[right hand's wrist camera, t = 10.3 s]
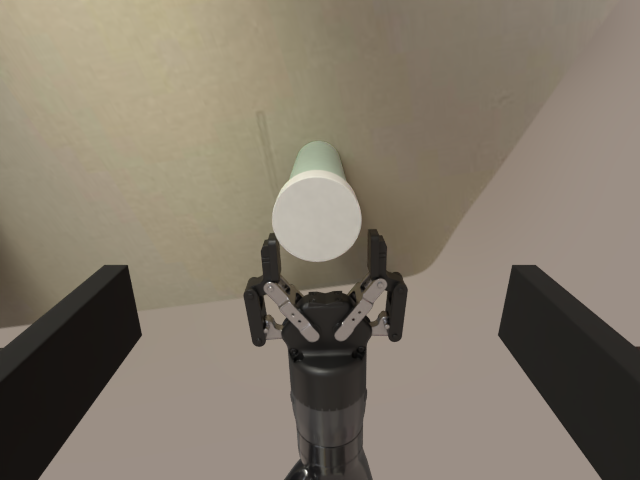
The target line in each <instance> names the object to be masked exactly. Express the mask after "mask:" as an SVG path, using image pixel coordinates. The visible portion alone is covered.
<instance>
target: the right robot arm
mask: <svg viewBox="0 0 640 480" xmlns="http://www.w3.org/2000/svg"><path fill="white" fill-rule="evenodd" d="M141 336H142V333H141V328H140V323H139V318H138V313H137V308H136V303H135V299H134V294H133V289H132V284H131V279H130V274H129V269H128V265H104V266H103V267H101V268H100V269H99V270H98V271H97V272H95V273H94V274H93V275H92V276H91V277H89V278H88V279H87V280H86V281H84V282H83V283H82V284H81V285H80V286H78V287H77V288H76V289H75V290H74V291H72V292H71V293H70V294H69V295H67V296H66V297H65V298H64V299H63V300H61V301H60V302H59V303H58V304H56V305H55V306H54V307H53V308H52V309H50V310H49V311H48V312H47V313H46V314H44V315H43V316H42V317H41V318H39V319H38V320H37V321H36V322H35V323H33V324H32V325H31V326H30V327H28V328H27V329H26V330H25V331H24V332H23V333H21V334H20V335H19V336H18V337H16V338H15V339H14V340H13V341H12V342H10V343H9V344H8V345H7V346H5V347H4V348H0V480H38V479H39V477H40V476H41V475H42V473H43V472H44V471H45V469H46V468H47V466H48V465H49V464H50V462H51V461H52V459H53V458H54V457H55V455H56V454H57V452H58V451H59V450H60V448H61V447H62V445H63V444H64V443H65V441H66V440H67V439H68V437H69V436H70V434H71V433H72V432H73V430H74V429H75V427H76V426H77V425H78V423H79V422H80V421H81V419H82V418H83V416H84V415H85V414H86V412H87V411H88V409H89V408H90V407H91V405H92V404H93V402H94V401H95V400H96V398H97V397H98V396H99V394H100V393H101V391H102V390H103V389H104V387H105V386H106V384H107V383H108V382H109V380H110V379H111V377H112V376H113V375H114V373H115V372H116V371H117V369H118V368H119V366H120V365H121V364H122V362H123V361H124V359H125V358H126V357H127V355H128V354H129V352H130V351H131V350H132V348H133V347H134V345H135V344H136V343H137V341H138V340H139V339H140V337H141ZM498 336H499V337H500V339H501V340H502V341H503V343H504V344H505V346H506V347H507V348H508V350H509V351H510V352H511V354H512V355H513V357H514V358H515V359H516V361H517V362H518V364H519V365H520V366H521V368H522V369H523V370H524V372H525V373H526V375H527V376H528V377H529V379H530V380H531V382H532V383H533V384H534V386H535V387H536V389H537V390H538V391H539V393H540V394H541V396H542V397H543V398H544V400H545V401H546V402H547V404H548V405H549V407H550V408H551V409H552V411H553V412H554V413H555V415H556V416H557V418H558V419H559V421H560V422H561V423H562V425H563V426H564V427H565V429H566V430H567V432H568V433H569V434H570V436H571V437H572V439H573V440H574V441H575V443H576V444H577V446H578V447H579V448H580V450H581V451H582V452H583V454H584V455H585V457H586V458H587V459H588V461H589V462H590V464H591V465H592V466H593V468H594V469H595V471H596V472H597V473H598V475H599V476H600V477H601V479H602V480H640V347H635V346H633V345H632V344H631V343H630V342H628V341H627V340H626V339H625V338H624V337H622V336H621V335H620V334H619V333H618V332H616V331H615V330H614V329H613V328H611V327H610V326H609V325H608V324H607V323H605V322H604V321H603V320H602V319H600V318H599V317H598V316H597V315H596V314H594V313H593V312H592V311H591V310H590V309H588V308H587V307H586V306H585V305H584V304H582V303H581V302H580V301H579V300H577V299H576V298H575V297H574V296H573V295H571V294H570V293H569V292H568V291H566V290H565V289H564V288H563V287H562V286H560V285H559V284H558V283H557V282H556V281H554V280H553V279H552V278H551V277H549V276H548V275H547V274H546V273H545V272H543V271H542V270H541V269H540V268H538V267H537V266H536V265H512V269H511V274H510V279H509V284H508V289H507V294H506V299H505V303H504V308H503V313H502V318H501V323H500V328H499V333H498Z"/></svg>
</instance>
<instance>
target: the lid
mask: <svg viewBox="0 0 640 480" xmlns="http://www.w3.org/2000/svg"><path fill="white" fill-rule="evenodd" d="M361 223H362V216H361V210H360V206H359V203H358V200H357V197H356V195H355V193H354V191H353V189H352V188H351V186H350V185H349V184H348V183H347V182H346V181H345V180H344V179H343V178H341V177H340V176H338V175H336V174H334V173H332V172H328V171H324V170H310V171H306V172H302V173H300V174H298V175H296V176H294V177H293V178H291V179H290V180H289V181H288V182H287V183H286V184H285V185H284V186H283V188H282V189H281V191H280V193H279V195H278V198H277V200H276V203H275V205H274V208H273V213H272V225H273V230H274V233H275V236H276V238H277V240H278V241H279V243H280V244H281V245H282V246H283V248H284V249H285V250H287V251H288V252H289V253H290V254H292V255H293V256H295V257H297V258H300V259H302V260H306V261H312V262H322V261H328V260H332V259H334V258H337V257H339V256H341V255H342V254H344V253H345V252H346V251H347V250H348V249H350V247H351V246H352V245H353V244H354V242H355V241H356V239H357V237H358V235H359V232H360V229H361Z"/></svg>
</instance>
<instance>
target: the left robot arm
mask: <svg viewBox="0 0 640 480" xmlns="http://www.w3.org/2000/svg"><path fill="white" fill-rule="evenodd" d="M386 256H387V246H386V244H385V241H384V239H383V237H382V235H379V234H378V232H377V229H368V258H367V266H368V270H369V272H368V273H367V275H366V276H365V277H364V278H363V279H362V280H361V282H358V283H356V284H355V286H354V287H353V288H352V289H351V290H350V292H349V293H348V294H347V295H346V294H344V293H342V291H333V292H329V293H321V292H309V294H308V295H305V296H303V295H302V294H301V293H300V292H299V290H298V289H297V288H296V287H295V286H294V285H292V284H289V283H288V282H287V281H286V280H285V279H284V278H283V277H282V276H281V275H280V273H281V259H280V247H279V241H278V240H277V238H276V236H275V233H270V235H269V238H268V240H265V241H264V244H263V247H262V250H261V257H262V267H263V275H262V276H261V277H258V278H257V277H252V278H250V279H249V281H248V284H247V287H246V289H245V292H244V300H245V306H246V311H247V316H248V321H249V326H250V332H251V337H252V342H253V344H254V345H255V346H258V347H260V346H263V345H264V344H265V342H266V340H270V339H281V338H282V339H283V340H284V342H285V343H286V344H287V347H288V356H289V369H290V382H291V394H290V396H291V401H292V406H293V411H294V416H295V419H296V425H297V439H298V449H299V455H300V458H301V459H300V460H299V461H298V462H297V463H296V464H295V465H294V467H293V468H292V469H291V471H290V472H289V474H288V475H287V476H286V478H285V479H284V480H373V479H372V476H371V472H370V469H369V465H368V461H367V458H366V456H365V453H364V450H363V447H362V446H363V417H364V412H365V405H366V398H367V390H366V347H367V342H368V340H369V339H370V337H371V335H373V336H388V337H389V339H390V340H391V341H393V342H397V341H399V340H400V339H401V337H402V330H403V323H404V315H405V307H406V299H407V291H408V289H407V287H406V285H405V283H404V281H403V278H402V275H401V274H400V273H398V272H393V273H391V272H388V271H386ZM384 290H386V291H387V301H386V310H385V311H382V312H381V313H380V314H379V316H378V318H377V320H376V321H374V322H370V319H369V318H368V317H367V316H366V314H367V313H368V312H369V311H370V310H371V308H372V307H373V303H374V301H375V300H376V299H377V298H378V297H379V296H380V294H381V293H382V292H383V291H384ZM266 294H267V295H268V296H269V297H270V298H271V299H272V300H273V301H274V302H275V303H276V304H277V305H278V307H279V309H280V311H281V312H282V313H283V314H284V315H285V316H286V317H287V318H286V319H285V320H284V322H283V324H282V325H279V324H277V323H276V322H275V321H274V318H273V317H272V316H271V315H267V314H266V308H265V302H264V296H263V295H266Z"/></svg>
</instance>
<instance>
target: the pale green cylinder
mask: <svg viewBox="0 0 640 480" xmlns="http://www.w3.org/2000/svg"><path fill="white" fill-rule="evenodd" d="M310 170H324V171H328V172H332V173H334V174H336V175H338V176H340V177H341V178H343V179H344V180H345V181H346V178H345V174H344V171H343V167H342V163H341V160H340V156H339V154H338V152H337V150H336V149H335V148H334V147H333V146H332V145H330V144H329V143H326V142H323V141H313V142H310V143H308V144H306V145H305V146H303V147H302V148H301V150H300V151H299V153H298V155H297V158H296V161H295V164H294V167H293V170H292V173H291V176H290V179H291V178H293V177H294V176H296V175H298V174H300V173H302V172H306V171H310ZM290 179H289V180H290ZM346 182H347V181H346Z"/></svg>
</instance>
